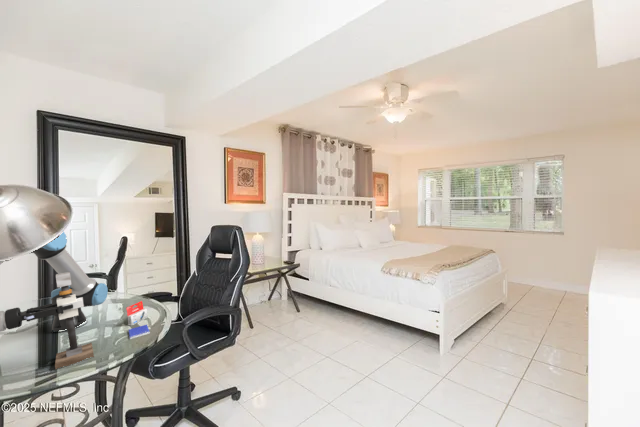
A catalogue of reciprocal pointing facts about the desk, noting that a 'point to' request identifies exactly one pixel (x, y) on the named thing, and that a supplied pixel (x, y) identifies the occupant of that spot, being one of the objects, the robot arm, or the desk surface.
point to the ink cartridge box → (136, 313)
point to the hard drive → (138, 331)
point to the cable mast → (70, 331)
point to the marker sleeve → (70, 312)
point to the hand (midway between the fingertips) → (83, 301)
